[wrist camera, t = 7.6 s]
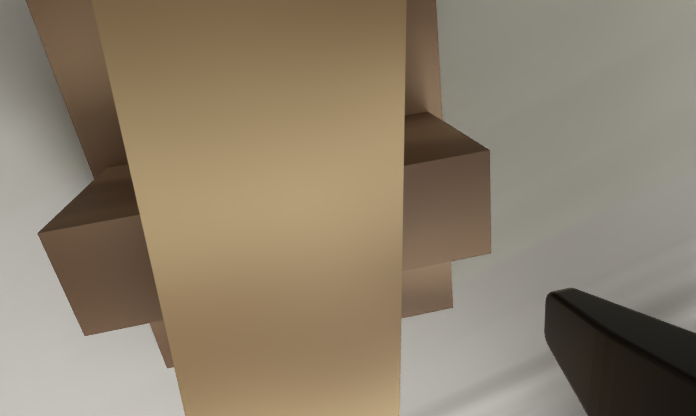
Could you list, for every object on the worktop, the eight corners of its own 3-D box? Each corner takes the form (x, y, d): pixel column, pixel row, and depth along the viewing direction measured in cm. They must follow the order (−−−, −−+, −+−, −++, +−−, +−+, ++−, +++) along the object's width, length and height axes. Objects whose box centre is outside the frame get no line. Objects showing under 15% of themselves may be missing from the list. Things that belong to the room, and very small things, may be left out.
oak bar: (366, 453, 15) (396, 592, 12) (242, 473, 15) (232, 625, 11) (353, -139, 9) (410, -244, 5) (135, -141, 8) (34, -257, 5)
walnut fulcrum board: (444, 294, 21) (507, 395, 15) (172, 351, 20) (133, 482, 14) (421, -66, 15) (509, -111, 10) (36, -12, 14) (-114, -27, 8)
